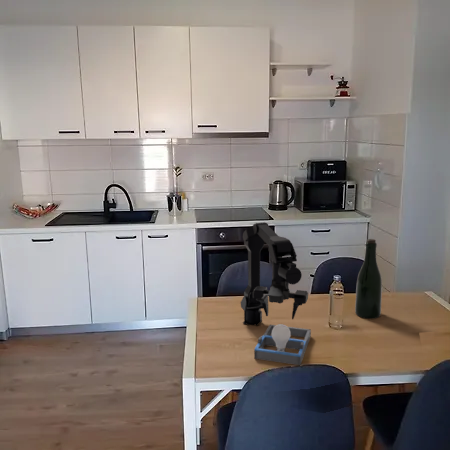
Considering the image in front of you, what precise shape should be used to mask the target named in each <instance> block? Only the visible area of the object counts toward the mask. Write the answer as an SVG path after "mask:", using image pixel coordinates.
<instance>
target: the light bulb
mask: <svg viewBox="0 0 450 450" xmlns="http://www.w3.org/2000/svg"><path fill="white" fill-rule="evenodd" d="M288 327H289V326H287V325H285V324H282V323H281V324H280V323H279V324H276V326H275V327H274V328H273V329H272V333H271V336H272V338H273V340H274V341H275V343H276V347H275V348H276V351H281V352H286V348H285V347H286V343H287V342H288V340H289V339H290V338H291V332H290V330H289V328H288Z"/></svg>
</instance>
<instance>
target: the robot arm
mask: <svg viewBox="0 0 450 450" xmlns="http://www.w3.org/2000/svg"><path fill="white" fill-rule="evenodd" d="M242 240H243V244H244V246H245V248H246V249H247V259H248V260H247V270H248V272H247V275H248V276H247V277H248V281H247V282H248V283H247V284H248V285H247V287H246V288H245V289H244V292H243V297H242V299H241V301H240V307H241V309H242V310H243V313H244V314H243V316H244V317H243V319H244V321H243V322H242V324H243V325H249V326H259V325H260V324H261V323H262V321H263V311H264V314H265V316H266V317H268V316H269V303H277V304H282V303H284V301H287V300H290V299H293V303H292V313H291V320H294V318H295V316H296V313H297V310H298V308H299V306H302V305H305V304H306V303H307V301H308V299H309V292H308V291H307V290H300V289H299V290H298V289H296V291H295V292H290V291H291V290H290V287H289V286H290V285H296V284H299V282H300V281H301V280H302V271H301V270H300V269H299V268H298V267H297V264H296V263H295V262H297V257H298V256H297V253H296V250H295V247H294V245H293V243H292V242H291V240H290V239H288V238H286V237H284V236H280V235H278V234H277V233H276V232H275V231H274V230H273V229H272V228H271V227H270V226H269V224H268V222H265V221H264V222H255V223H254V224H253V225H252V226H250V227H247V228H246V229H245V230H244V231H243V233H242ZM265 244H266V245H267V246H268V253H269V254H270V260H271V261H272V263H271V264H272V265H271V267H272V271H271V272H272V273H271V274H272V275H271V285H270V287H269V289H268V287H267V286H263V285H261V251H262V249H263V247H264V246H265ZM261 309H263V311H262V310H261Z"/></svg>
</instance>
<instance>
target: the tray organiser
mask: <svg viewBox="0 0 450 450" xmlns="http://www.w3.org/2000/svg"><path fill="white" fill-rule="evenodd" d="M276 325H277V324H276ZM276 325H275V324H269V325H268V327H267V328H266V330H265V331H264V334H263V335H261V336H259V337H258V339H257V341H258V342H257V344H256V345H255V347H254V349H253V350H254V351H253V353H254V359H255V360H263V361H268V362H276V363H283V364H289V365H296V366H301V365H302V362H303V359H304V356H305V354H306V351H307V348H308V345H309V343H310V340H311V333H312V330H311V329H310V328H303V327H302V328H301V327H294V326H287V327H288V328H289V330H290V332H291V336H293V337H299V339H297V338H291V336H290V339H289V340H288V342H287V343H286V347H285V349H291V350H298V353H295V352H287V351H285V352H281V351H277V350H274V349H265V346H269V347H275V348H277V347H276V343H275V341H274V340H273V338H272V329H273V328H274V327H275V326H276ZM301 337H302V338H304V339H300V338H301Z"/></svg>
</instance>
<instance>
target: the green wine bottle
mask: <svg viewBox="0 0 450 450" xmlns="http://www.w3.org/2000/svg"><path fill="white" fill-rule="evenodd" d="M377 246H378V245H377V242H376V239H374V238H369V239H368V238H367V240H366V242H365V251H364V252H365V253H364V260H363V263H362V265H361V268H360V270H359V272H358V275H357V280H356V289H355V307H354V309H355V310H354V312H355V314H356V316H358V317H360V318H364V319H371V320H372V319H378V318H380V316H381V312H382V294H383V293H382V291H383V290H382V289H383V285H382V284H383V283H382V282H383V279H382V275H381V272H380V269H379V266H378V265H379V264H378V262H377Z"/></svg>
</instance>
